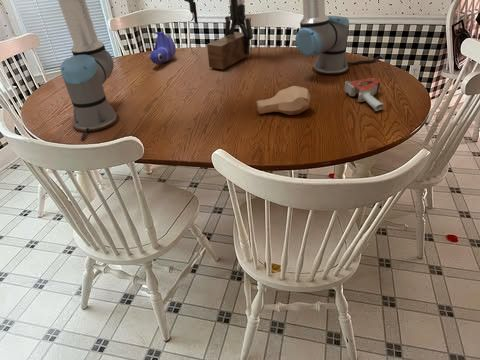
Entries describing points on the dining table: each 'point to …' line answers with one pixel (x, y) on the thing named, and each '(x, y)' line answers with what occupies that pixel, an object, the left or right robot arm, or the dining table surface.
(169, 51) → the toy
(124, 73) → the dining table surface
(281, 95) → the squash
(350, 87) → the tape dispenser
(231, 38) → the box
